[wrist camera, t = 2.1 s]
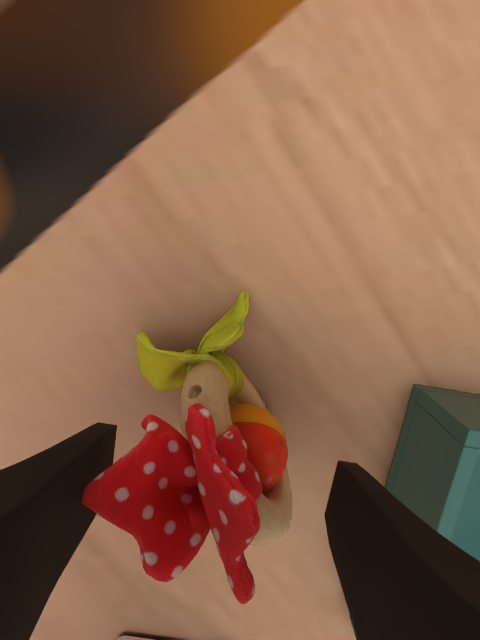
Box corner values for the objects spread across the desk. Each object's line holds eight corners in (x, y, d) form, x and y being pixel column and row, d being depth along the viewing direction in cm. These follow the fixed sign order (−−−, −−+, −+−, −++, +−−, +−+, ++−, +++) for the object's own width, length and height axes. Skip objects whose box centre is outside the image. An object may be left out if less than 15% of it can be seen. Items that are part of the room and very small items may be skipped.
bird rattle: (302, 370, 21) (216, 243, 16) (432, 592, 12) (325, 456, 7) (209, 426, 22) (98, 321, 17) (263, 679, 12) (51, 615, 7)
